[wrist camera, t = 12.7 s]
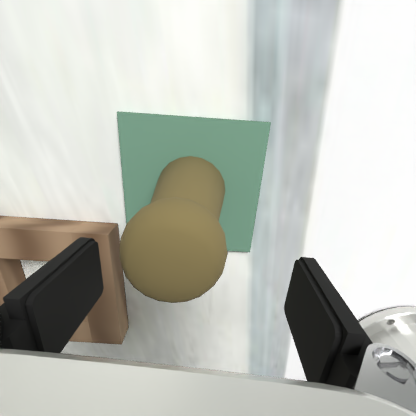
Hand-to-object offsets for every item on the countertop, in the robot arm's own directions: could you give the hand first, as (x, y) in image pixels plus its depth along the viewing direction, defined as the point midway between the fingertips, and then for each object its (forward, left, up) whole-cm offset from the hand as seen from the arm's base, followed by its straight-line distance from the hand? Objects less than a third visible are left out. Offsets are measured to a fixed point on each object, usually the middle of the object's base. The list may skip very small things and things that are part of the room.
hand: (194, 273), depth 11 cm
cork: (+1, -1, -10) cm, 10 cm away
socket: (+15, +10, -11) cm, 21 cm away
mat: (+1, -1, -11) cm, 11 cm away
